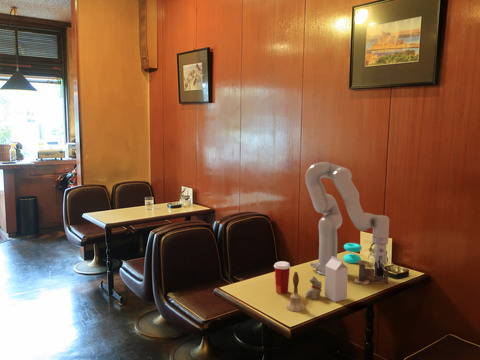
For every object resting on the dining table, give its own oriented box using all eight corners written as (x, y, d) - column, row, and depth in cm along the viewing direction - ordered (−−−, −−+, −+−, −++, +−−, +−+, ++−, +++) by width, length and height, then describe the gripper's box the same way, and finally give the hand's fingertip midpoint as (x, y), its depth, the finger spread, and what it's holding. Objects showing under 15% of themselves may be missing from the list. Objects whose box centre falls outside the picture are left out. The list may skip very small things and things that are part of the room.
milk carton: (334, 302, 173) (336, 261, 171) (324, 296, 180) (325, 257, 177) (346, 299, 177) (348, 259, 174) (336, 293, 183) (337, 254, 181)
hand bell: (283, 309, 167) (283, 273, 165) (290, 301, 174) (291, 267, 172) (300, 313, 163) (301, 277, 161) (308, 306, 170) (309, 271, 168)
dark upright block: (383, 279, 195) (384, 264, 194) (375, 278, 196) (375, 263, 195) (382, 276, 198) (383, 262, 197) (374, 276, 199) (375, 261, 198)
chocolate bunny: (323, 299, 177) (323, 278, 175) (305, 299, 177) (306, 278, 176) (320, 294, 182) (321, 273, 181) (304, 294, 182) (304, 273, 181)
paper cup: (291, 289, 187) (291, 262, 185) (288, 296, 180) (288, 267, 178) (275, 287, 190) (276, 260, 188) (271, 294, 183) (272, 265, 181)
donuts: (360, 242, 231) (362, 247, 221) (359, 258, 232) (362, 264, 222) (343, 242, 232) (344, 246, 223) (342, 258, 234) (344, 263, 224)
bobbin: (354, 284, 194) (355, 263, 193) (353, 279, 201) (354, 258, 199) (369, 285, 192) (370, 264, 191) (368, 280, 199) (368, 259, 198)
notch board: (359, 281, 197) (359, 270, 196) (358, 278, 202) (359, 266, 201) (388, 284, 194) (389, 272, 193) (387, 280, 199) (387, 269, 198)
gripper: (390, 245, 185) (389, 279, 188) (385, 235, 202) (384, 267, 204) (374, 244, 187) (372, 278, 189) (370, 235, 204) (369, 266, 206)
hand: (378, 272), depth 197 cm, fingers open, 9 cm apart
